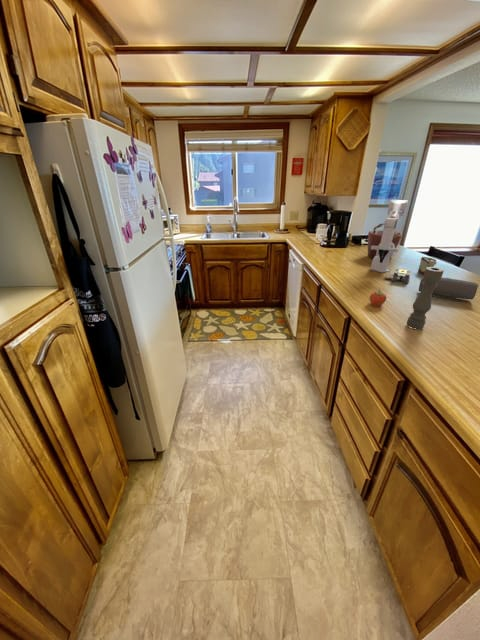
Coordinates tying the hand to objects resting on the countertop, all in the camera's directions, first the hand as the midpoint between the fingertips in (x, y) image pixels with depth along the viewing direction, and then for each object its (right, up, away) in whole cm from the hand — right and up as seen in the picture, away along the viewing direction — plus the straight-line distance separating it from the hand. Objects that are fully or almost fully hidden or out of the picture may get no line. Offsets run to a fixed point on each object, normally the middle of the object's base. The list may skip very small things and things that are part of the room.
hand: (381, 262), depth 161 cm
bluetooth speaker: (+20, -23, -23) cm, 39 cm away
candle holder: (-13, -38, -50) cm, 64 cm away
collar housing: (+10, -12, -2) cm, 16 cm away
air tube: (+9, -11, -1) cm, 14 cm away
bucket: (+22, +13, +43) cm, 50 cm away
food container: (+32, -7, +7) cm, 34 cm away
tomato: (-19, -28, -31) cm, 46 cm away
